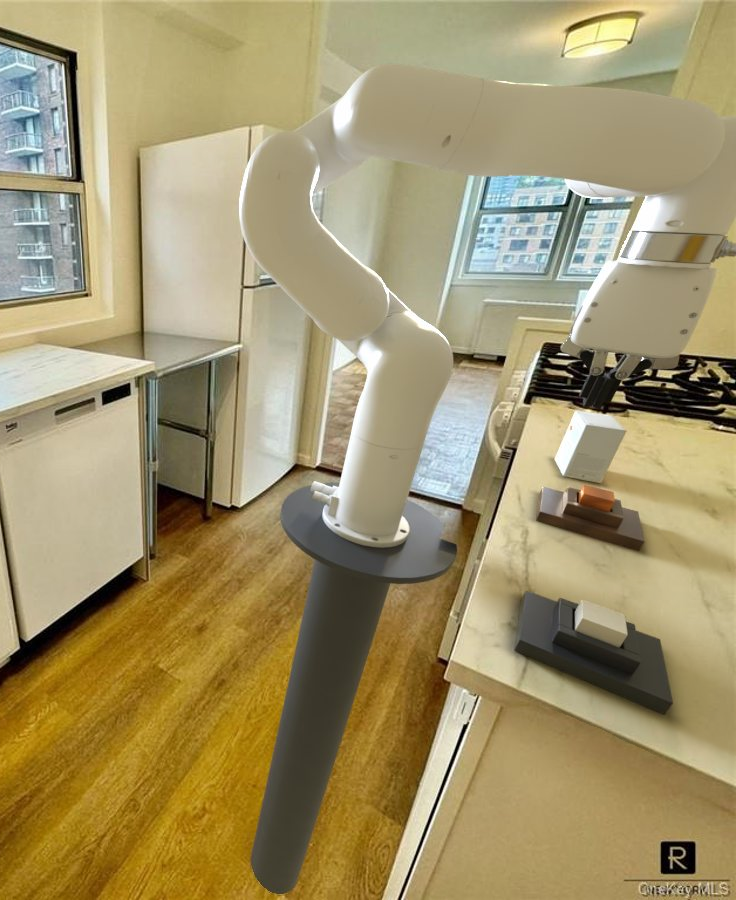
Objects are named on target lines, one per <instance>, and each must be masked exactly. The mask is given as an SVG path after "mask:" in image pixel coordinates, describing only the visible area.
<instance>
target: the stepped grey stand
mask: <svg viewBox="0 0 736 900" xmlns="http://www.w3.org/2000/svg"><path fill="white" fill-rule="evenodd" d="M578 605H579V603H578V602H574V601H571V600H568V599H566V598H563V597H558V599H557V601H556V600H554V599H551V598H549V597H546V596H543V595H541V594H537V593H535V592H532V591H529V590H525V591H524V593H523V595H522V596H521V599H520V606H519V612H518V619H517V628H516V635H515V643H514V652H517V653H519V654H521V655H524V656H525V657H529V658H531V659H533V660H536V661H538V662H540V663H543V664H545V665H547V666H550V667H551V668H555V669H557V670H558V671H561V672H564V673H566V674H568V675H570V676H572V677H575V678H577V679H579V680H582V681H585V682H587V683H589V684H591V685H594V686H596V687H598V688H601V689H603V690H605V691H607V692H610V693H613V694H615V695H617V696H620V697H622V698H624V699H627V700H629V701H631V702H634V703H636V704H638V705H641V706H643V707H645V708H647V709H649V710H652V711H655V712H657V713H659V714H662V715H666V714H667V712H668V711H669V710H670V708H671V707H672V705H673V704H674V702H673V701H674V700H673V696H672V692H671V687H670V682H669V675H668V672H667V667H666V666H667V665H666V662H665V657H664V652H663V647H662V643H661V642H662V641H661V639H660V638H658V637H656V636H652V635H650V634H647V633H644V632H641V631H639V630H637V629H636V624H635V623H632V622H629V621H627V620H626V626H627V634H628V635H627V637H626V638H625V640H624V641H623V643H622V645H621V646H620V648H619V647H616V646H613V645H611V644H608V643H606V642H603V641H601V640H598V639H595V638H593V637H590V636H588V635H585V634H582V633H580V632H577V631H575V630H574V612H575V611H576V609H577V607H578Z"/></svg>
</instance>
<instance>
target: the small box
mask: <svg viewBox="0 0 736 900" xmlns="http://www.w3.org/2000/svg"><path fill="white" fill-rule="evenodd" d="M626 433H627V429H625V428H624V427H623V426H622V424H621V423H620V422H619V421H618V420H617V418H616V417H615V416H613V415H608V414H603V413H596V412H589V411H582V410H575V411H574V413H573V415H572V418H571V420H570V422H569V425H568V427H567V428H566V432H565V433H564V436H563V439H562V440H561V442H560V443H561V444H560V446H559V448H558V450H557V453H556V454H555V457H554V462H555V463H556V466H557V467H558V470H559V471H560V473H561V475H562V477H565V478H571V479H576V480H581V481H587V482H591V483H596V484H597V483H598V484H601V483H603V480H604V478H605V476H606V474H607V472H608V470H609V468H610V466H611V463H612V462H613V459H614V458H615V456H616V453H617V451H618V449H619V447H620V445H621V443H622V442H623V439H624V437H625V435H626Z"/></svg>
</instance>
